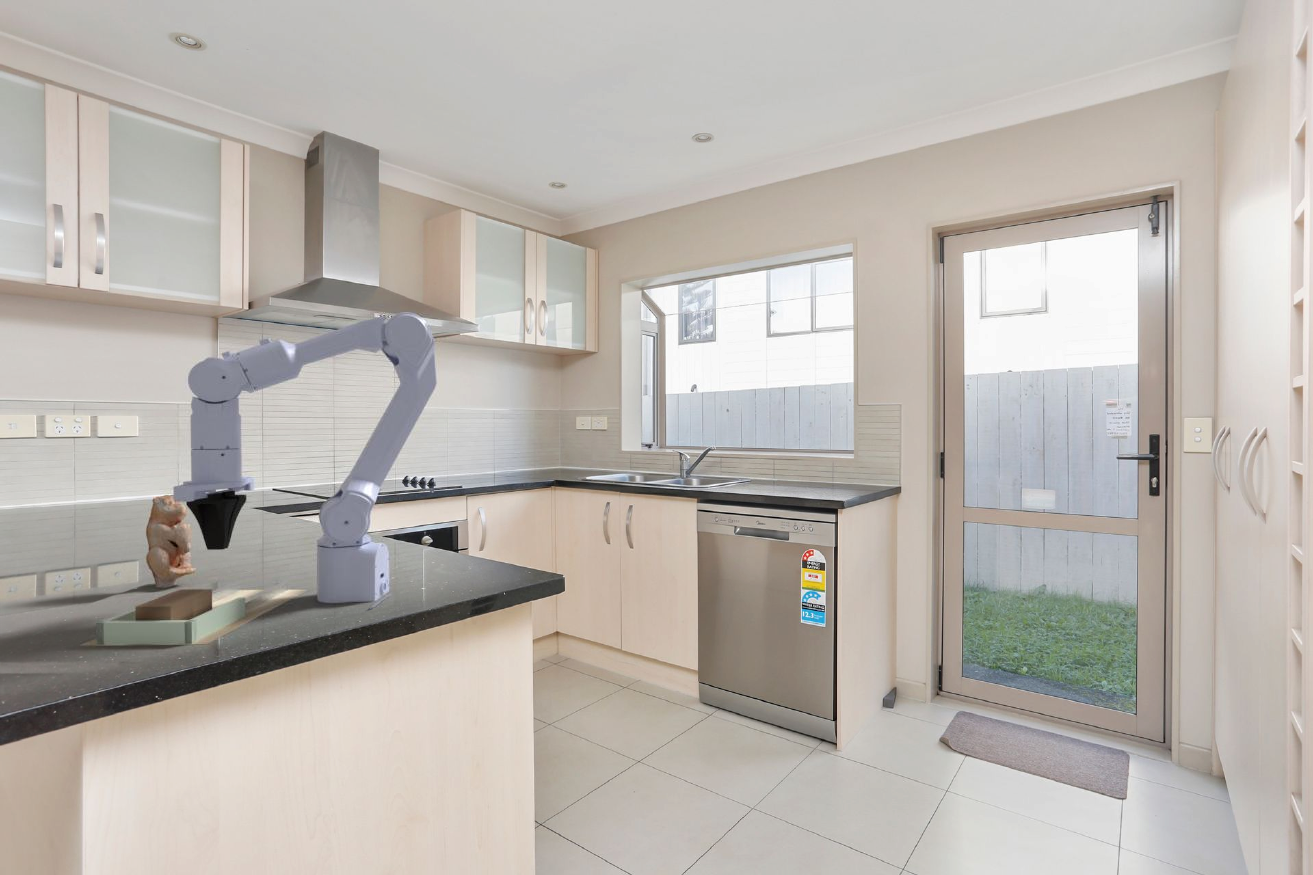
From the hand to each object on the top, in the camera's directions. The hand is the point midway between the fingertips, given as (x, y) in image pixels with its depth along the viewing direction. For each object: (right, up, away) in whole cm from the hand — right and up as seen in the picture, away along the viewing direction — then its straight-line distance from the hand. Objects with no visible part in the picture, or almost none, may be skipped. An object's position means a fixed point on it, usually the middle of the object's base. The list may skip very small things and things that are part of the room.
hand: (217, 548), depth 90 cm
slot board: (0, -9, -1) cm, 10 cm away
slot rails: (0, -8, +5) cm, 9 cm away
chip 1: (+1, -9, -10) cm, 14 cm away
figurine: (-17, -9, +14) cm, 24 cm away
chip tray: (0, -9, -8) cm, 12 cm away
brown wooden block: (0, -9, -6) cm, 11 cm away
